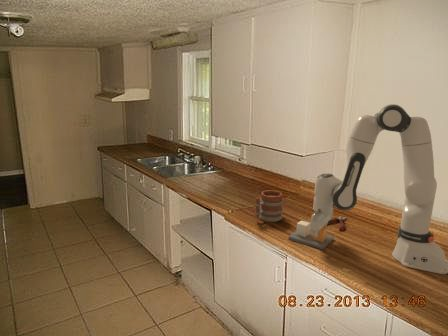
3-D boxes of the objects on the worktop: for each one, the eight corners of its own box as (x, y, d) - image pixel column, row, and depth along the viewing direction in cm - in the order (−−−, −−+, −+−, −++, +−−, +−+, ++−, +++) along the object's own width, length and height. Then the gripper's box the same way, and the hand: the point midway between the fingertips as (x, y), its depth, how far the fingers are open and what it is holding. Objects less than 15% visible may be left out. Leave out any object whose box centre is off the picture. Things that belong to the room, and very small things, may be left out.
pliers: (353, 220, 194) (354, 216, 193) (341, 232, 179) (342, 228, 178) (334, 216, 201) (334, 212, 200) (321, 226, 185) (321, 222, 185)
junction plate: (333, 239, 169) (334, 225, 168) (322, 249, 159) (324, 235, 157) (300, 229, 180) (301, 216, 178) (288, 239, 169) (289, 225, 167)
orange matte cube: (326, 238, 167) (327, 227, 165) (322, 242, 163) (323, 230, 161) (316, 235, 170) (317, 224, 168) (312, 239, 166) (313, 228, 164)
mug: (287, 218, 195) (289, 193, 192) (263, 226, 184) (265, 200, 180) (270, 211, 206) (271, 187, 202) (247, 218, 195) (247, 193, 191)
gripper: (320, 214, 152) (318, 242, 156) (336, 202, 168) (333, 227, 171) (307, 211, 156) (305, 238, 159) (324, 199, 172) (321, 224, 175)
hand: (320, 232), depth 165 cm, fingers open, 8 cm apart
